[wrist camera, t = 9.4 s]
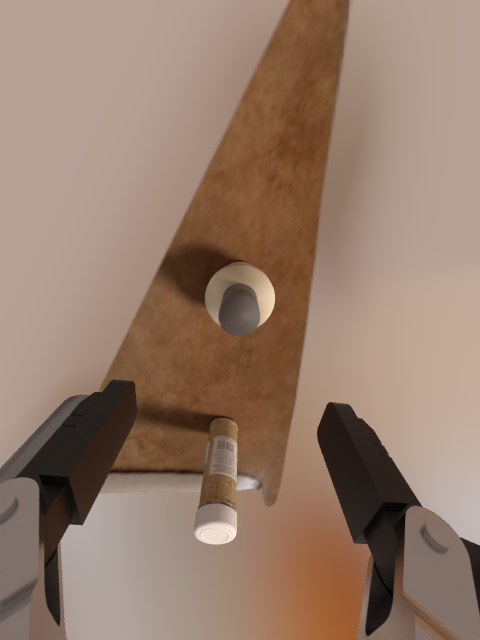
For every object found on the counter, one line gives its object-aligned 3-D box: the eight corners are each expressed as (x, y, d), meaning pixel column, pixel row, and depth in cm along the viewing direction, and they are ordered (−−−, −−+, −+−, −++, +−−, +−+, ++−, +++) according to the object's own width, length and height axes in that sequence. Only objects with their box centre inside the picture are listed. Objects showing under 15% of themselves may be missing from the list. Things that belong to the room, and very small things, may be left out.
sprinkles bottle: (204, 427, 36) (184, 537, 24) (221, 411, 34) (209, 520, 22) (227, 440, 37) (219, 550, 25) (244, 424, 35) (245, 534, 23)
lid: (223, 335, 25) (219, 362, 20) (194, 280, 22) (182, 296, 17) (282, 313, 23) (292, 336, 19) (258, 251, 21) (263, 261, 16)
